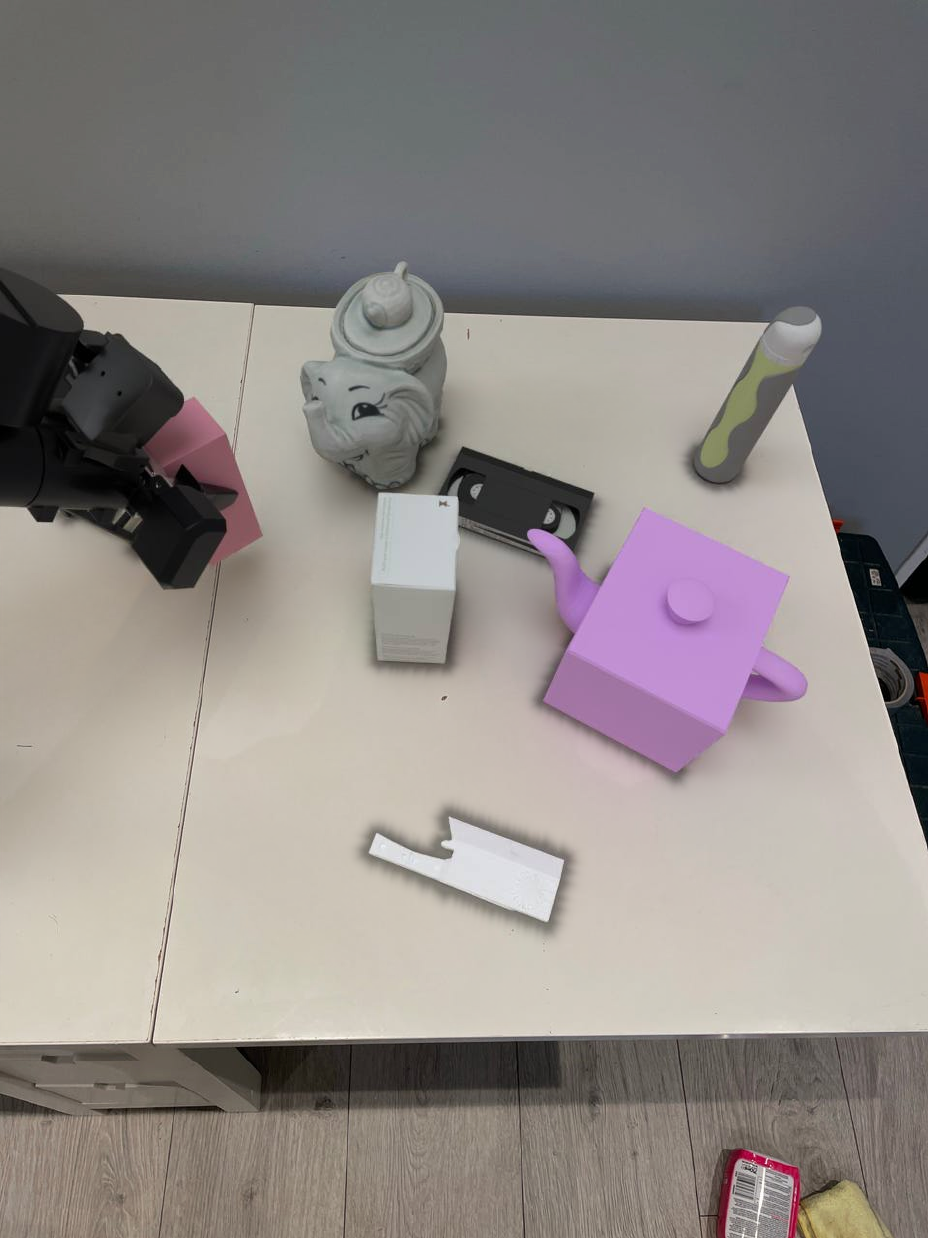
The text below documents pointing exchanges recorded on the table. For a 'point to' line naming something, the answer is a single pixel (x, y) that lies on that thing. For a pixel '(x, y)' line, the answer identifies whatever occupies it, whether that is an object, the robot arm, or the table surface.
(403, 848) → the butcher knife
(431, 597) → the cosmetic box
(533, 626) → the table surface
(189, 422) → the pink box
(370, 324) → the elephant cookie jar
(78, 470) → the robot arm
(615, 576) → the teapot
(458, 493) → the vhs tape
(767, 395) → the spray bottle
